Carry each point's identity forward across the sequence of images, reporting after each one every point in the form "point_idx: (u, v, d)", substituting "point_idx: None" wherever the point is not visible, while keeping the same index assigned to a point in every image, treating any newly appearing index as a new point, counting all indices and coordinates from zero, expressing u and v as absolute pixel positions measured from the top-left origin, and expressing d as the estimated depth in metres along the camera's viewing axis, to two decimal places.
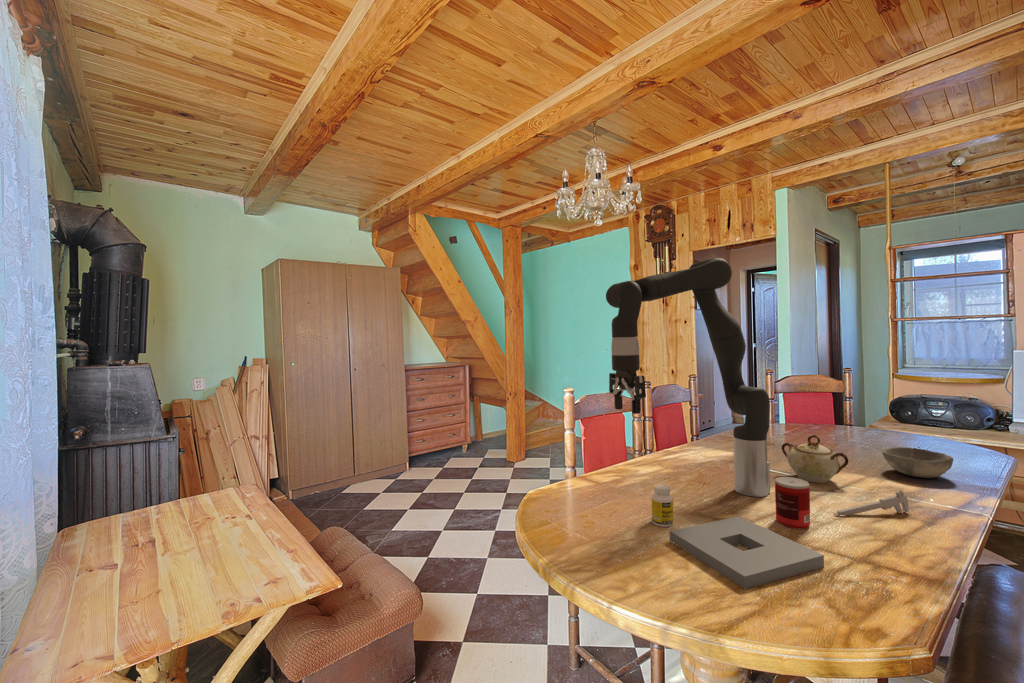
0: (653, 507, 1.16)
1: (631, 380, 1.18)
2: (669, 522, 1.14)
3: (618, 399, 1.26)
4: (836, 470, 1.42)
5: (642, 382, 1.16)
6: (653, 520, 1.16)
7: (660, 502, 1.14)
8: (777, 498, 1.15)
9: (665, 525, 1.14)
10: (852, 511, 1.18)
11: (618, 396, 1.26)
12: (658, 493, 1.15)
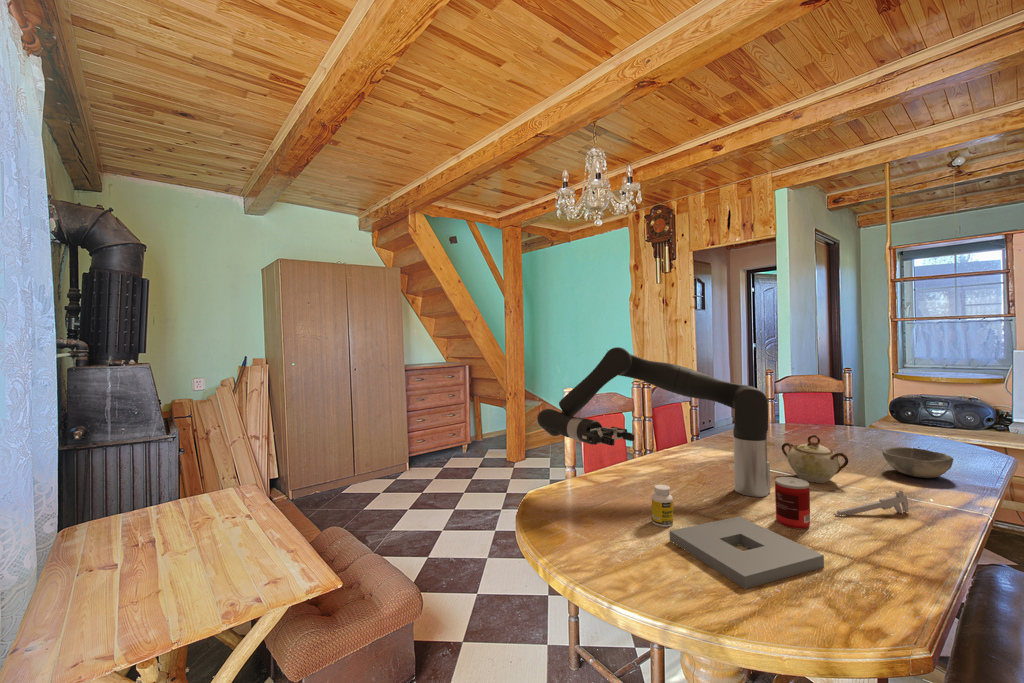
0: (653, 507, 1.16)
1: (592, 439, 1.32)
2: (669, 522, 1.14)
3: (624, 436, 1.31)
4: (836, 470, 1.42)
5: (585, 436, 1.30)
6: (653, 520, 1.16)
7: (660, 502, 1.14)
8: (777, 498, 1.15)
9: (665, 525, 1.14)
10: (852, 511, 1.18)
11: (623, 435, 1.32)
12: (658, 493, 1.15)
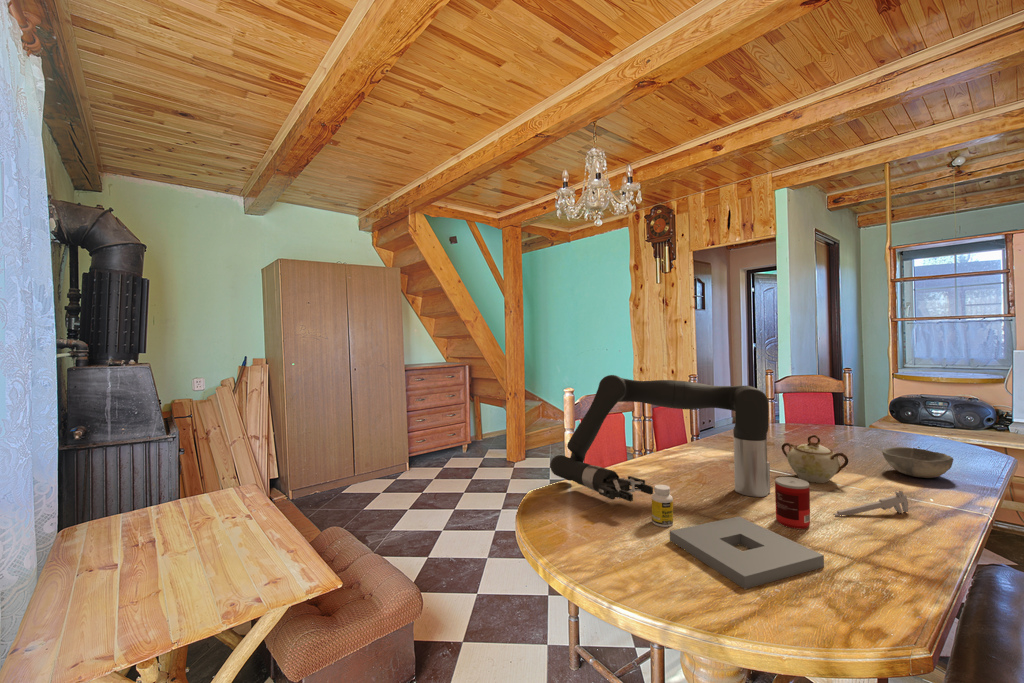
0: (653, 507, 1.16)
1: None
2: (669, 522, 1.14)
3: (643, 488, 1.27)
4: (836, 470, 1.42)
5: (602, 489, 1.25)
6: (653, 520, 1.16)
7: (660, 502, 1.14)
8: (777, 498, 1.15)
9: (665, 525, 1.14)
10: (852, 511, 1.18)
11: (641, 487, 1.28)
12: (658, 493, 1.15)
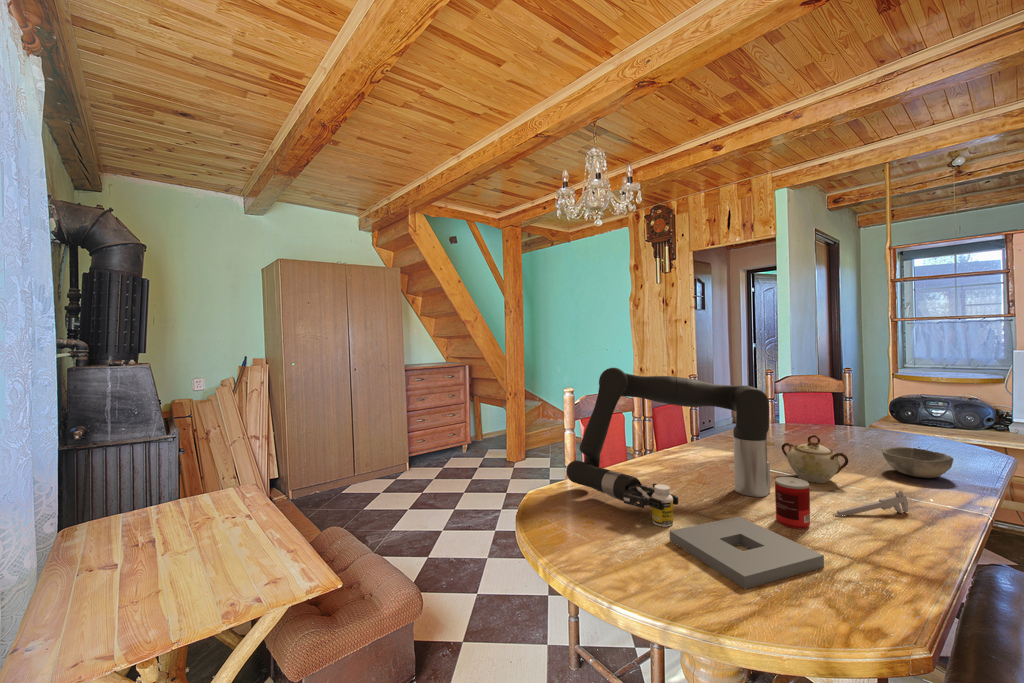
0: None
1: None
2: (669, 522, 1.14)
3: None
4: (836, 470, 1.42)
5: (629, 498, 1.18)
6: (653, 520, 1.16)
7: None
8: (777, 498, 1.15)
9: (665, 525, 1.14)
10: (852, 511, 1.18)
11: None
12: (658, 493, 1.15)
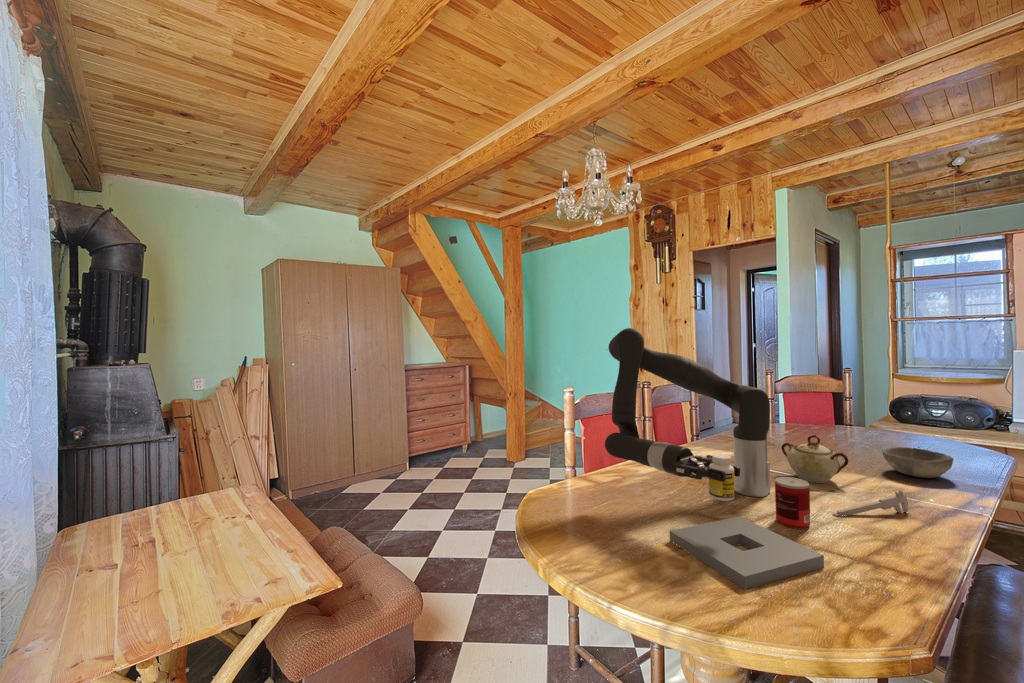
0: (711, 479, 1.03)
1: None
2: (730, 496, 1.01)
3: None
4: (836, 470, 1.42)
5: (683, 469, 1.04)
6: (711, 493, 1.03)
7: None
8: (777, 498, 1.15)
9: (726, 499, 1.01)
10: (852, 511, 1.18)
11: None
12: (718, 463, 1.02)
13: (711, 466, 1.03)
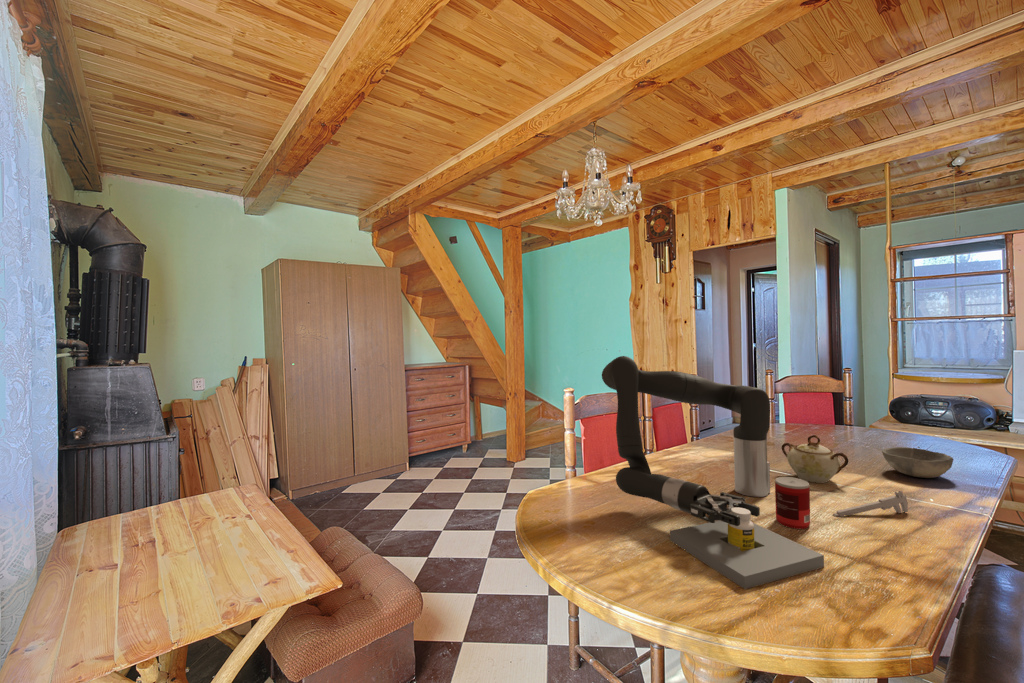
0: (731, 534, 0.99)
1: None
2: None
3: None
4: (836, 470, 1.42)
5: (697, 510, 1.01)
6: None
7: (740, 529, 0.98)
8: (777, 498, 1.15)
9: None
10: (852, 511, 1.18)
11: (742, 507, 1.04)
12: None
13: None
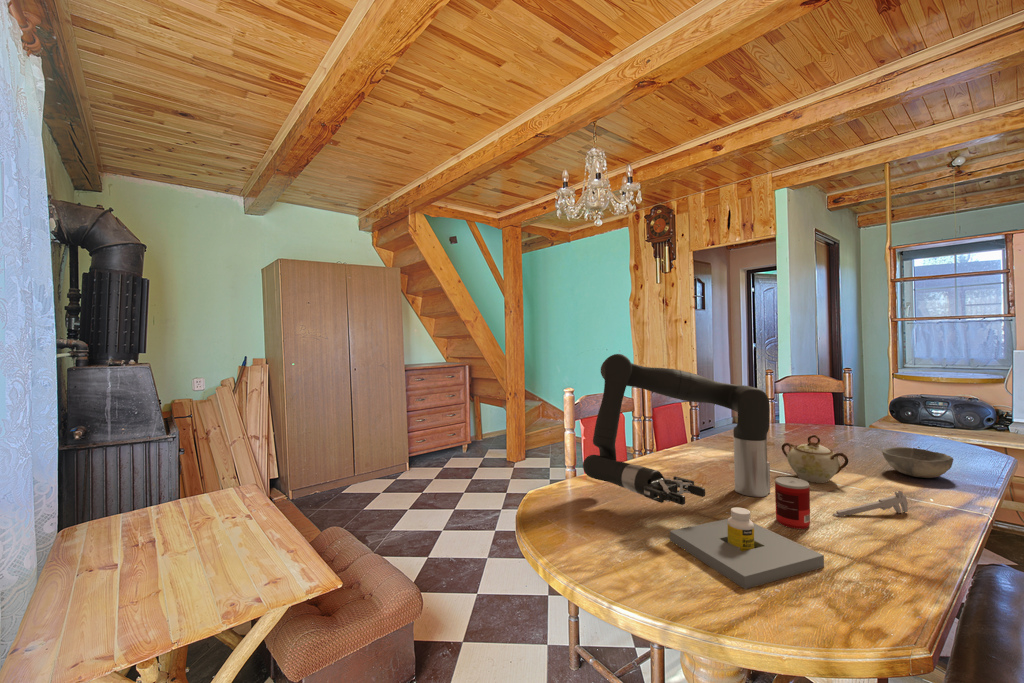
0: (730, 534, 0.99)
1: None
2: None
3: (693, 490, 1.14)
4: (836, 470, 1.42)
5: (649, 491, 1.13)
6: None
7: (740, 529, 0.98)
8: (777, 498, 1.15)
9: None
10: (852, 511, 1.18)
11: (690, 489, 1.15)
12: (737, 519, 0.99)
13: (730, 521, 1.00)
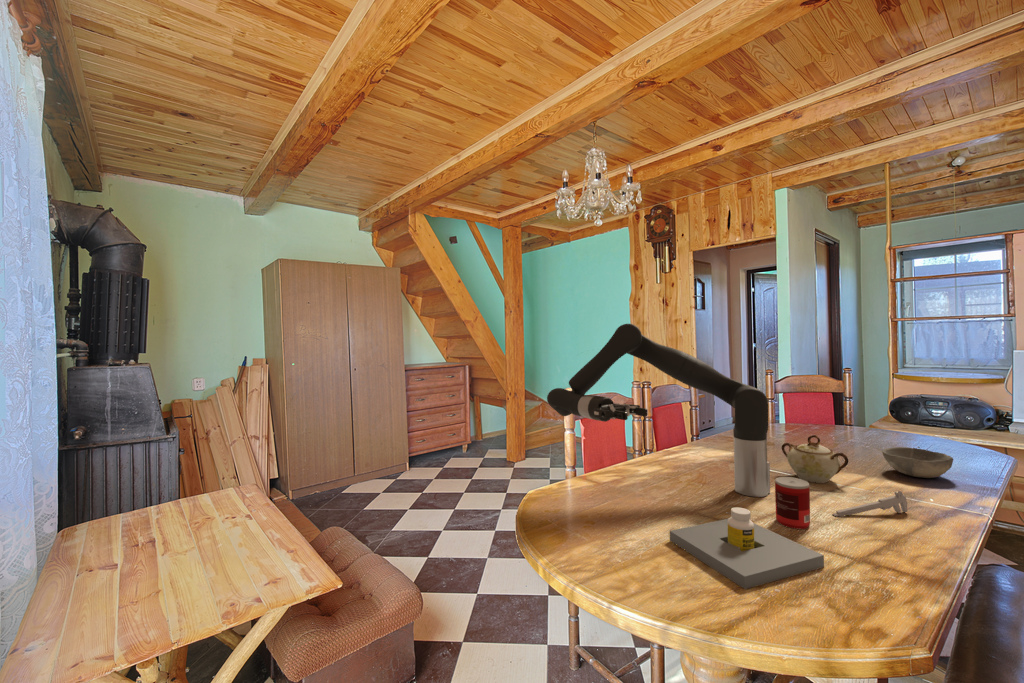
0: (730, 534, 0.99)
1: None
2: None
3: (637, 412, 1.28)
4: (836, 470, 1.42)
5: (597, 411, 1.27)
6: None
7: (740, 529, 0.98)
8: (777, 498, 1.15)
9: None
10: (851, 511, 1.18)
11: (636, 411, 1.29)
12: (737, 519, 0.99)
13: (730, 521, 1.00)
